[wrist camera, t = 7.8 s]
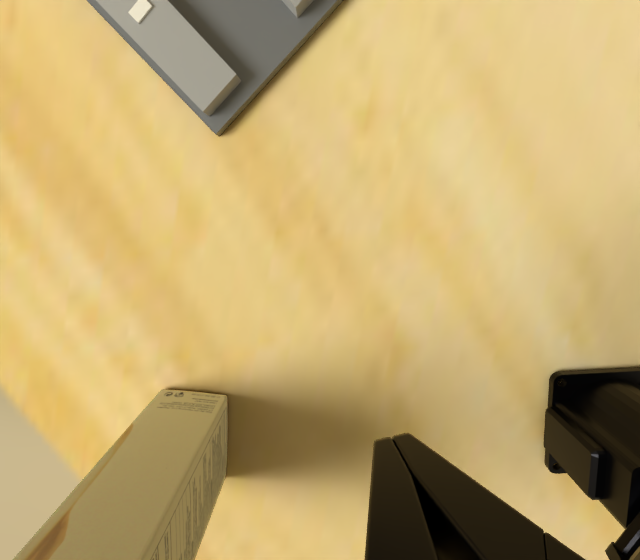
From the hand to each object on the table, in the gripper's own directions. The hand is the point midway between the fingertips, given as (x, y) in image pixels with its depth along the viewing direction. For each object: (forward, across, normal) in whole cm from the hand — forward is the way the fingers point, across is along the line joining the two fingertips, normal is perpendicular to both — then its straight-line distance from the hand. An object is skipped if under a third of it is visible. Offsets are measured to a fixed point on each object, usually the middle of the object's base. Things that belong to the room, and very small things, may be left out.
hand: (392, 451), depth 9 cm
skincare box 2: (+14, +10, +8) cm, 19 cm away
